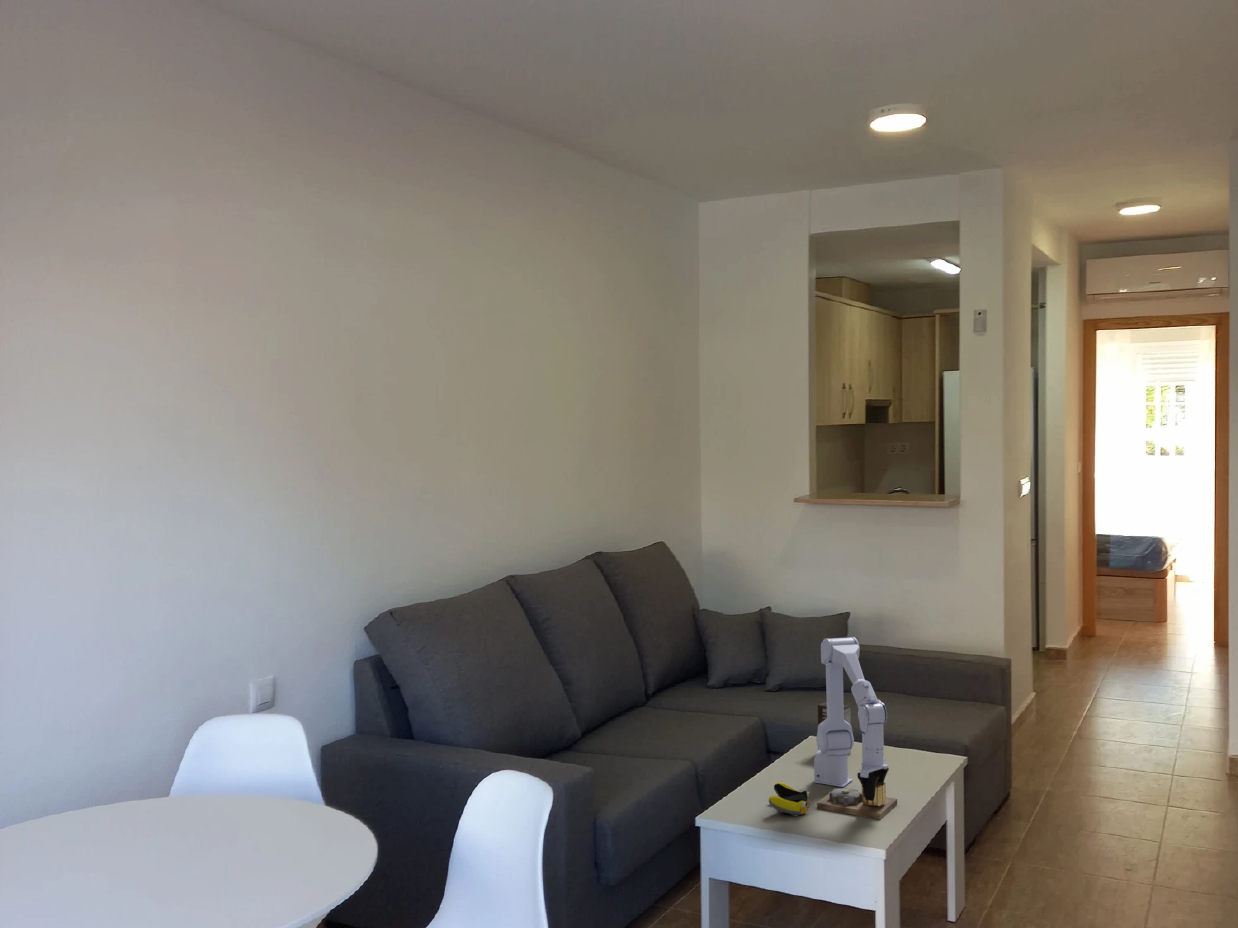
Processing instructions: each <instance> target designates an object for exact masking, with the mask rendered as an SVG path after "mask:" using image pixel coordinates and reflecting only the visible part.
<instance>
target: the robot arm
mask: <svg viewBox="0 0 1238 928" xmlns="http://www.w3.org/2000/svg"><path fill="white" fill-rule="evenodd" d="M860 649H861V648H860V642H859V641H858V639H857V638H856V637H855V636H850V637H836V638H835V637H833V638H826V637H825V638H824V639H823V640H822V642H821V644H820V660H821V661H820V662H821V664H822V665H825V685H826V686H825V688H826V696H825V697H826V701H827V719H826V720H824V721H823V722H822V723H820V724H819V725H818V724H817V733H816V745H817V751H816V752H815V754H814V760H813V767H814V768H813V775H814V778H813V781H812V782H813V783H815V784H816V783H817V784H823V785H828V786H834V787H839V788H840V787H841V788H845V787H846V786H847V785H848V784H850V783H851V782H853V780H854V778H851V777H849V762H848V759H849V758H848V757H849V755H848V753H850V750H851V751H852V749H853V747H854V744H855V739H854V738H855V737H854V735H853V726H852V725H850V724H849V723H848V722H846V721H845V720H844V670H845V672H846V674H847V676H848V678H849V680H850V682H851V684H852V685H851V687H850V689H851V693H852V696H853V698H854V700H855V703H856V706H857V708H858V711H857V718H858V721H859V729H860V731H861V748H862V749H861V750H862V751H861V759H862V762H861V769H860V771H859V772H858V773H857V774H856V775H857V780H858V781H859V783H860V785H861V788H862V787H863V791H864V795H865V799H866V800H870V801H873V800H874V797H875V789H876V784H877V781H879V782H884V783H885V780H886V776H887V774H888V772H889V769H890V768H889V765H888V764H887V763H886V756H885V755H884V754H885V753H884V747H885V746H884V745H885V743H884V738H885V737H884V725H885V724H886V723H887V721H888V712H887V711H888V710H887V708H886V705H885V703H884V702H882V701H881V699H878V697H877V695H876V692H875V690H874V687H873V686H872V684H871V682H870V681H869V680H866V679H865V676H864V674H863V669H862V667H861V664H860V661H859V658H860ZM818 748H819V750H818Z"/></svg>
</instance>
